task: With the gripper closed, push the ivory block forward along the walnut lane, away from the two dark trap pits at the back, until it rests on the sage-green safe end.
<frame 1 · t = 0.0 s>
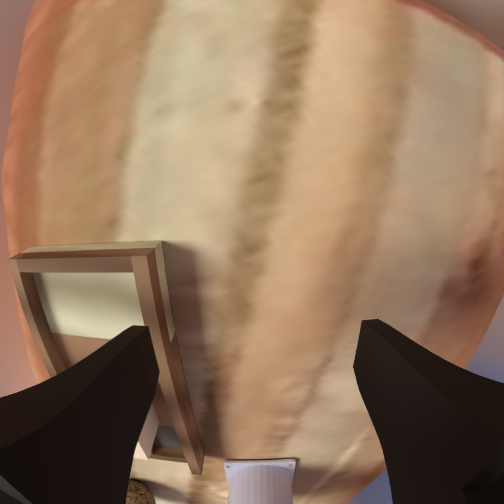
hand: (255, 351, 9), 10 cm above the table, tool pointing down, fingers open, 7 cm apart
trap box: (121, 374, 23), on the table
decorative egg: (137, 481, 31), on the table
ivory block: (120, 397, 22), point 1 cm above the table, touching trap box
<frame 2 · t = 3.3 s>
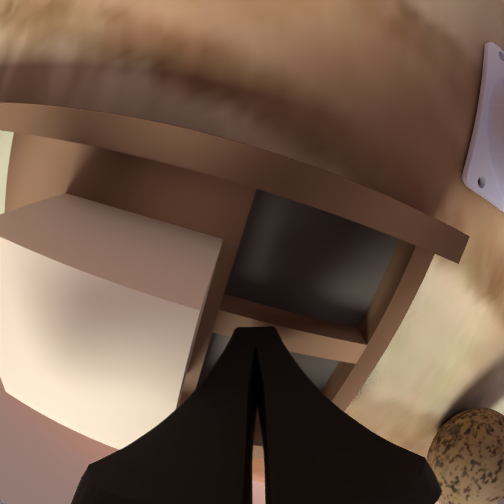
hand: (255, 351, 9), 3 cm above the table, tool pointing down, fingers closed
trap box: (106, 265, 11), on the table
decorative egg: (451, 419, 16), on the table
ivory block: (123, 292, 10), point 2 cm above the table, touching gripper, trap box
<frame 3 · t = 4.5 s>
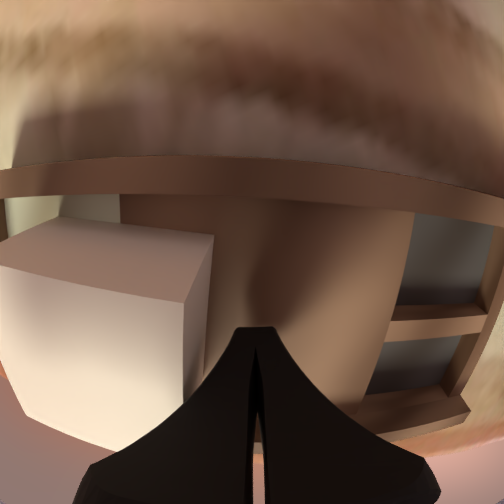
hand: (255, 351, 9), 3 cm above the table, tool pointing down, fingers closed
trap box: (261, 311, 12), on the table
ivory block: (128, 303, 10), point 2 cm above the table, touching gripper
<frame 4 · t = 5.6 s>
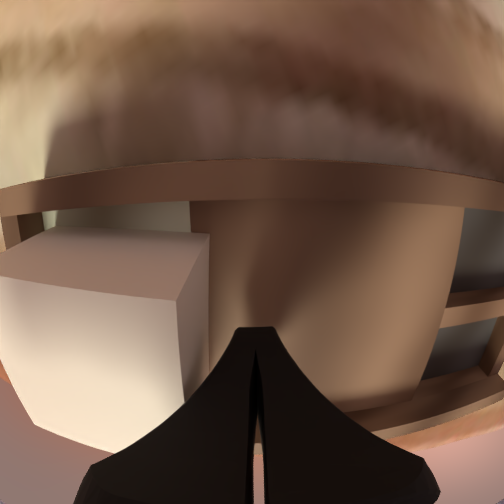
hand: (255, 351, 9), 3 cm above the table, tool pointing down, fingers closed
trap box: (327, 310, 12), on the table
ivory block: (129, 307, 10), point 1 cm above the table, touching gripper, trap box
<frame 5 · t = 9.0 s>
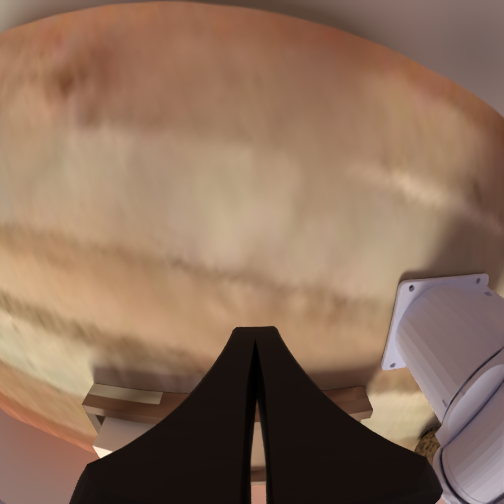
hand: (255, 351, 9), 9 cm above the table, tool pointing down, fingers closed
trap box: (227, 435, 24), on the table
decorative egg: (428, 433, 26), on the table
ivory block: (145, 434, 22), point 1 cm above the table, touching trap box
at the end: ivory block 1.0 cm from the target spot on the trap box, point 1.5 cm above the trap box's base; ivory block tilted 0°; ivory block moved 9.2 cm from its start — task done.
